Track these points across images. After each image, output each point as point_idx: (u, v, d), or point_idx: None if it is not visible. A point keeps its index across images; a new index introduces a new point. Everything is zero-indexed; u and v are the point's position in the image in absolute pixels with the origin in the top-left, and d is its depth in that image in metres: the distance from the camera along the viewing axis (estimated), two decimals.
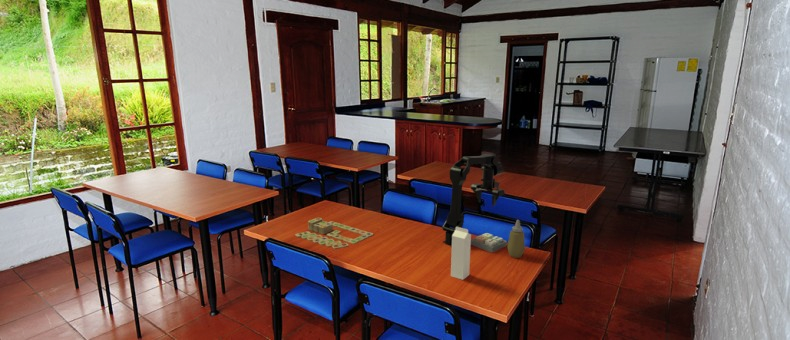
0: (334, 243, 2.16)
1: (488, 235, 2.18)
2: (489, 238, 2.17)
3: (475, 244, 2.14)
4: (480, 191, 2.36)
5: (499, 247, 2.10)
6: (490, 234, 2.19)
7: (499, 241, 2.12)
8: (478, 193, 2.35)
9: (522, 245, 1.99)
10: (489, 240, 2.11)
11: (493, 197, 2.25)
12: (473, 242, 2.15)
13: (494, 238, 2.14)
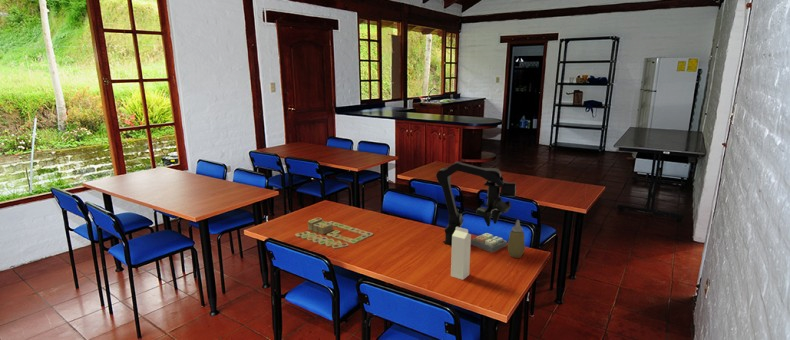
0: (334, 243, 2.16)
1: (488, 235, 2.18)
2: (489, 238, 2.17)
3: (475, 244, 2.14)
4: (497, 211, 2.09)
5: (499, 247, 2.10)
6: (490, 234, 2.19)
7: (499, 241, 2.12)
8: (493, 211, 2.10)
9: (522, 245, 1.99)
10: (489, 240, 2.11)
11: None
12: (473, 242, 2.15)
13: (494, 238, 2.14)
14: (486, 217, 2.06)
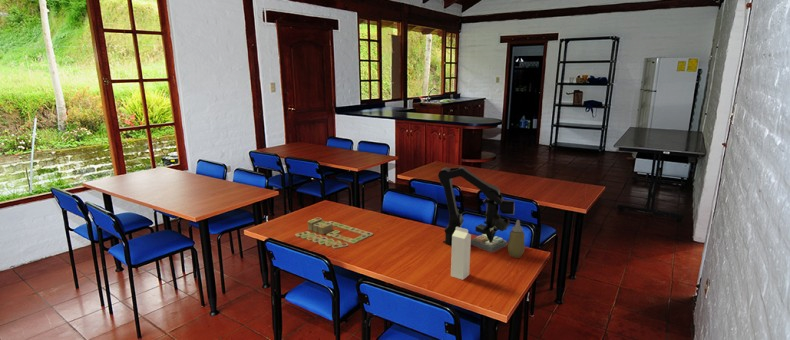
0: (334, 243, 2.16)
1: None
2: None
3: (475, 244, 2.14)
4: (493, 230, 2.09)
5: (499, 247, 2.10)
6: None
7: (499, 241, 2.12)
8: None
9: (522, 245, 1.99)
10: None
11: None
12: (473, 242, 2.15)
13: (494, 238, 2.14)
14: (488, 233, 2.09)
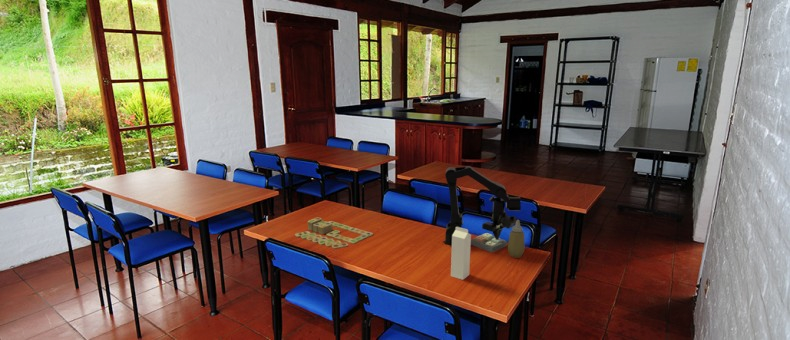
0: (334, 243, 2.17)
1: (488, 235, 2.18)
2: (489, 238, 2.17)
3: (475, 244, 2.14)
4: (499, 227, 2.13)
5: (499, 247, 2.10)
6: (490, 234, 2.19)
7: (499, 242, 2.13)
8: None
9: (522, 245, 1.99)
10: (489, 242, 2.12)
11: None
12: (473, 242, 2.15)
13: (494, 239, 2.14)
14: (494, 230, 2.13)
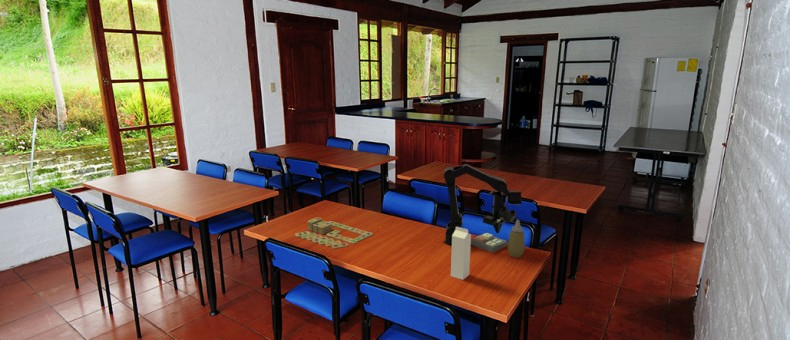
0: (334, 243, 2.17)
1: (488, 235, 2.18)
2: (489, 238, 2.17)
3: (475, 244, 2.14)
4: (500, 221, 2.12)
5: (499, 247, 2.10)
6: (490, 234, 2.19)
7: None
8: None
9: (522, 245, 1.99)
10: (489, 242, 2.12)
11: None
12: (473, 242, 2.15)
13: (494, 240, 2.14)
14: (495, 224, 2.12)
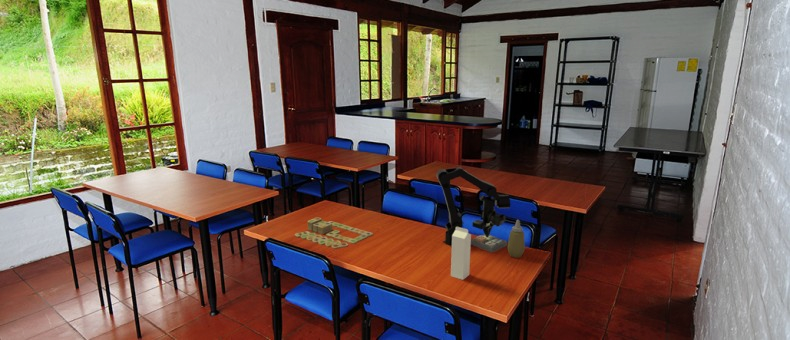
0: (334, 243, 2.17)
1: (488, 237, 2.18)
2: None
3: (475, 244, 2.14)
4: (489, 225, 2.17)
5: (499, 247, 2.10)
6: (490, 236, 2.19)
7: None
8: None
9: (522, 245, 1.99)
10: (489, 242, 2.12)
11: None
12: (473, 242, 2.15)
13: (494, 240, 2.14)
14: (485, 228, 2.17)
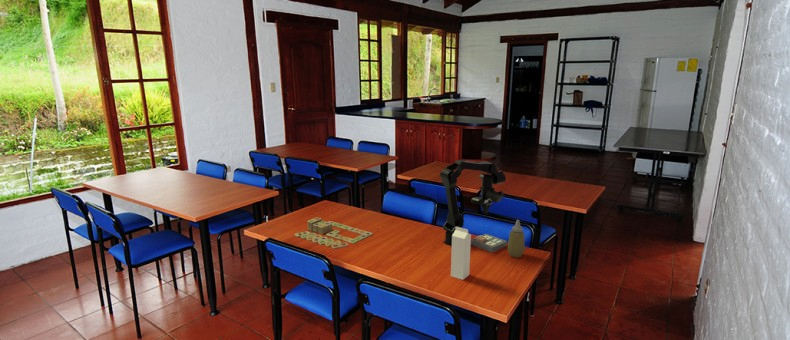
0: (333, 243, 2.17)
1: (488, 237, 2.18)
2: None
3: (475, 244, 2.14)
4: None
5: (499, 247, 2.10)
6: (489, 236, 2.19)
7: None
8: None
9: (522, 245, 1.99)
10: (489, 242, 2.12)
11: None
12: (473, 242, 2.15)
13: (494, 240, 2.14)
14: (483, 205, 2.24)
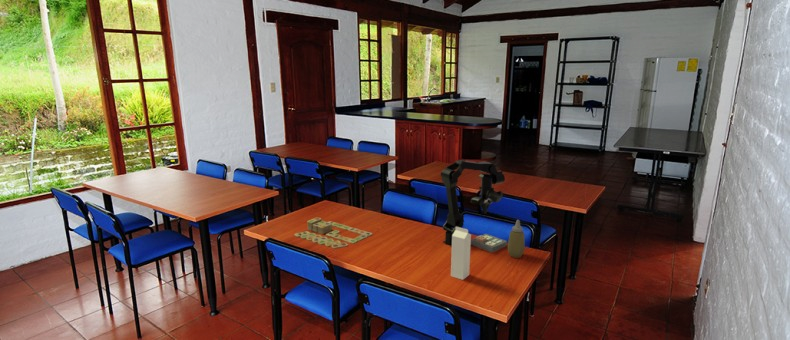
0: (333, 243, 2.17)
1: (488, 237, 2.18)
2: None
3: (475, 244, 2.14)
4: None
5: (499, 247, 2.10)
6: (489, 236, 2.19)
7: None
8: None
9: (522, 245, 1.99)
10: (489, 242, 2.12)
11: None
12: (473, 242, 2.15)
13: (494, 240, 2.14)
14: (483, 205, 2.25)
